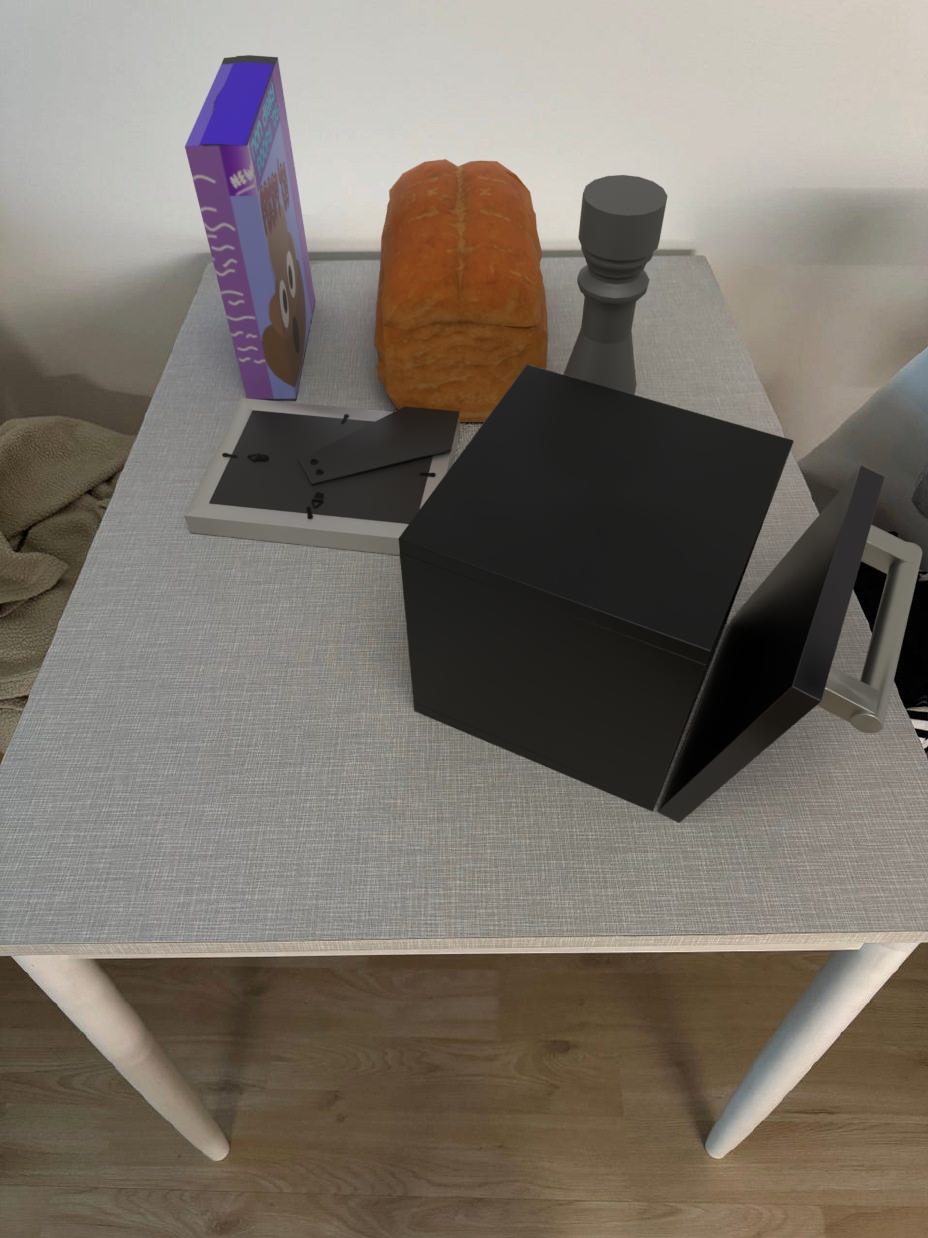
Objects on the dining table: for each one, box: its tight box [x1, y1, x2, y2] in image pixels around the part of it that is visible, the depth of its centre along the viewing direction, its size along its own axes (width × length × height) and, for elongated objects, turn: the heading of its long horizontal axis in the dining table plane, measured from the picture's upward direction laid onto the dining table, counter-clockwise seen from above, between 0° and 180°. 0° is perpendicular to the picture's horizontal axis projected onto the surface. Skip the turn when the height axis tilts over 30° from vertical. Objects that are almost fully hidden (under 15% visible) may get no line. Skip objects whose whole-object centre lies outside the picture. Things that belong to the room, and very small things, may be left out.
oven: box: [399, 364, 794, 812], centre depth 58 cm, size 18×18×18 cm
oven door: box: [658, 465, 923, 824], centre depth 55 cm, size 6×18×18 cm, turn 154°
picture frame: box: [183, 397, 461, 556], centre depth 77 cm, size 16×3×21 cm
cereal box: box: [184, 54, 316, 402], centre depth 81 cm, size 17×5×24 cm, turn 0°
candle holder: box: [562, 174, 668, 395], centre depth 69 cm, size 6×6×25 cm
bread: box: [373, 158, 549, 423], centre depth 85 cm, size 16×27×16 cm, turn 1°
